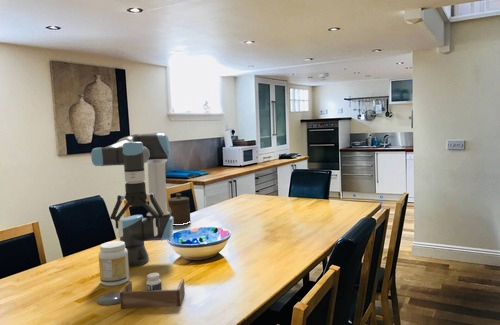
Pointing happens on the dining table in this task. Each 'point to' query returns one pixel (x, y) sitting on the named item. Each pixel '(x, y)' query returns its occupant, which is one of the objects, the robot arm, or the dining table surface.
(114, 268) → the supplement tub
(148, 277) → the pill bottle
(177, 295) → the wooden u-shaped bracket
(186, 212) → the wooden container
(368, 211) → the dining table surface
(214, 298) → the dining table surface
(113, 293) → the coaster
